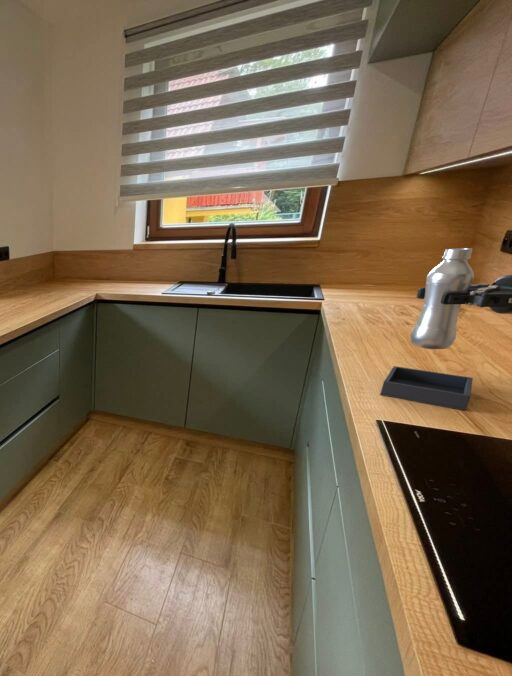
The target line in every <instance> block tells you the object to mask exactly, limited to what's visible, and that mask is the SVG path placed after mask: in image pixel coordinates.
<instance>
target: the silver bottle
mask: <svg viewBox="0 0 512 676" xmlns="http://www.w3.org/2000/svg"><path fill="white" fill-rule="evenodd" d="M472 253H473V248H471V247H469V248H467V247H461V248H460V247H458V248H457V247H453V248H451V247H450V248H445V250H444V252H443V255H442V256H441V259H443V260H442V261H441V262H440V263H439V264H438V265H436V266H434V267H433V268H432V269H431V270H430V271H429V272H428V273H427V275H426V278H425V288H426V289H425V297H424V299H423V304H422V308H421V311H420V313H419V316H418V318H417V321H416V324H414V326H413V328H412V330H411V332H410V343H411V344H412V346H414V347H418V348H422V349H426V350H447V349H449V348H450V347H451V346H453V344H454V343H455V340H456V338H457V324H458V318H459V314H460V311H461V307H462V306H461V305H462V304H448V305H445V304H441V299H442V296H443V294H444V293H453V292H467V291H468V289H469V287H470V285H472V283H473V281H474V279H475V273H474V270H473V268H472V267H471V265H470V264H469V262H468V260H470V259H471V258H472Z"/></svg>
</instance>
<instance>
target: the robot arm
mask: <svg viewBox="0 0 512 676" xmlns="http://www.w3.org/2000/svg"><path fill="white" fill-rule="evenodd" d="M425 289H426V287H420V288H419V289H418V291H417V293H416V299H419V300H424V297H425ZM441 304H445V305H448V304H461V305H465V306H467V307H471V306H472V307H479V308H489V309H490V310H491V311H493V313H495V314H500V315H511V314H512V274H507V275H503V276H501V277H499V278H496V280H495V281H494V282H492V284H490V283H476V284H471V285H470V287H469V289H468V291H467V292H453V293H444V294H443V296H442V299H441Z"/></svg>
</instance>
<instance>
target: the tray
mask: <svg viewBox="0 0 512 676" xmlns="http://www.w3.org/2000/svg"><path fill="white" fill-rule="evenodd" d="M473 379H474V378H473V377H470V376H463V375H456V374H448V373H444V372H443V373H442V372H436V371H429V370H422V369H417V368H410V367H402V366H395V365H393V366H392V368H391V369H390V371H389V372H388V375H386V377H385V379H384V380H383V384H382V386H381V390H380V394H379V395H380V396H384V397H390V398H395V399H400V400H406V401H412V402H417V403H421V404H427V405H432V406H438V407H443V408H448V409H454V410H459V411H463V412H464V411H466V409H467V407H468V404H469V401H470V399H471V396H472V387H473Z"/></svg>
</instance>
